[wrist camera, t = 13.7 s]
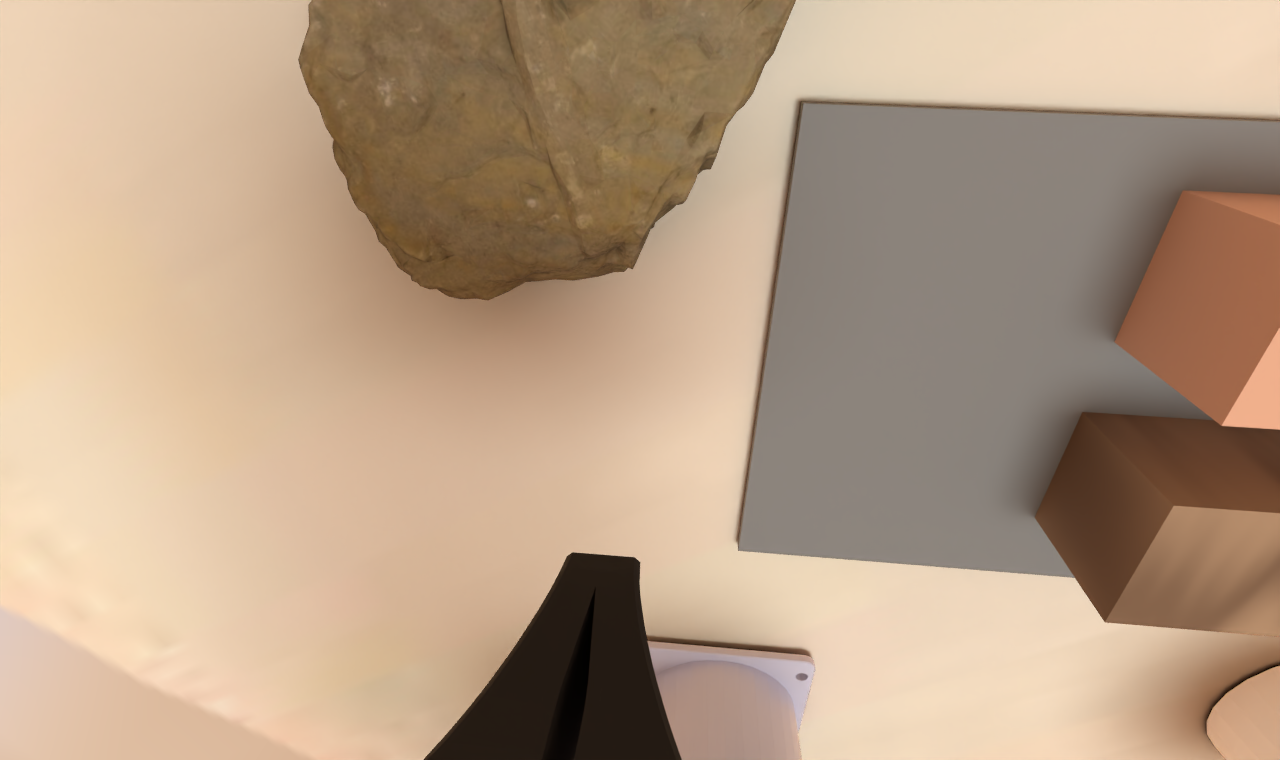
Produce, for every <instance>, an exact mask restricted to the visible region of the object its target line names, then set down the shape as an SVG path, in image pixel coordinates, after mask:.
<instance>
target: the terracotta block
mask: <svg viewBox="0 0 1280 760" xmlns="http://www.w3.org/2000/svg"><path fill="white" fill-rule="evenodd" d="M1115 343H1116V344H1117V345H1118V346H1120V347H1121V348H1122V349H1124V350H1125V351H1126V352H1127V353H1129V354H1130V355H1131V356H1133V357H1134V358H1135V359H1136V360H1138V361H1139V362H1140V363H1142V364H1143V365H1144V366H1145V367H1147V368H1148V369H1149V370H1151V371H1152V372H1153V373H1154V374H1156V375H1157V376H1158V377H1160V378H1161V379H1162V380H1163V381H1165V382H1166V383H1167V384H1169V385H1170V386H1171V387H1172V388H1174V389H1175V390H1176V391H1178V392H1179V393H1180V394H1181V395H1183V396H1184V397H1185V398H1186V399H1188V400H1189V401H1190V402H1192V403H1193V404H1194V405H1195V406H1197V407H1198V408H1199V409H1201V410H1202V411H1203V412H1204V413H1206V414H1207V415H1208V416H1210V417H1211V418H1212V419H1213V420H1215V421H1216V422H1217V423H1219V424H1220V425H1221V426H1232V427H1248V428H1263V429H1278V430H1280V195H1274V194H1252V193H1229V192H1207V191H1184V190H1183V191H1182V193H1181V196H1180V198H1179V200H1178V202H1177V204H1176V207H1175V209H1174V211H1173V213H1172V216H1171V218H1170V220H1169V222H1168V224H1167V227H1166V229H1165V231H1164V233H1163V235H1162V238H1161V240H1160V242H1159V244H1158V247H1157V249H1156V251H1155V253H1154V255H1153V258H1152V260H1151V262H1150V264H1149V266H1148V269H1147V271H1146V273H1145V275H1144V278H1143V280H1142V282H1141V284H1140V286H1139V289H1138V291H1137V293H1136V295H1135V297H1134V300H1133V302H1132V304H1131V306H1130V308H1129V311H1128V313H1127V315H1126V317H1125V320H1124V322H1123V324H1122V326H1121V328H1120V331H1119V333H1118V335H1117V337H1116V339H1115Z"/></svg>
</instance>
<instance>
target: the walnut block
mask: <svg viewBox="0 0 1280 760" xmlns="http://www.w3.org/2000/svg"><path fill="white" fill-rule="evenodd" d="M1035 519H1036V520H1037V522H1038V523H1039V525H1040V526H1041V528H1042V529H1043V531H1044V532H1045V534H1046V535H1047V537H1048V538H1049V540H1050V541H1051V543H1052V544H1053V546H1054V547H1055V549H1056V550H1057V552H1058V553H1059V555H1060V556H1061V558H1062V559H1063V561H1064V562H1065V564H1066V565H1067V567H1068V568H1069V570H1070V571H1071V573H1072V574H1073V576H1074V577H1075V579H1076V580H1077V581H1078V583H1079V584H1080V586H1081V587H1082V589H1083V590H1084V592H1085V593H1086V595H1087V596H1088V598H1089V599H1090V601H1091V602H1092V604H1093V605H1094V607H1095V608H1096V610H1097V611H1098V613H1099V614H1100V616H1101V617H1102V619H1103V620H1104V622H1108V623H1120V624H1132V625H1144V626H1156V627H1168V628H1180V629H1192V630H1204V631H1216V632H1228V633H1240V634H1252V635H1264V636H1276V637H1280V430H1278V429H1263V428H1248V427H1232V426H1221V425H1220V424H1219V423H1217V422H1216V421H1215V420H1201V419H1186V418H1170V417H1155V416H1139V415H1123V414H1108V413H1092V412H1082V414H1081V416H1080V418H1079V420H1078V423H1077V425H1076V427H1075V429H1074V432H1073V434H1072V436H1071V438H1070V440H1069V443H1068V445H1067V447H1066V449H1065V451H1064V454H1063V456H1062V458H1061V460H1060V463H1059V465H1058V467H1057V469H1056V471H1055V474H1054V476H1053V478H1052V480H1051V483H1050V485H1049V487H1048V489H1047V491H1046V494H1045V496H1044V498H1043V500H1042V502H1041V505H1040V507H1039V509H1038V511H1037V514H1036V516H1035Z"/></svg>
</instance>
